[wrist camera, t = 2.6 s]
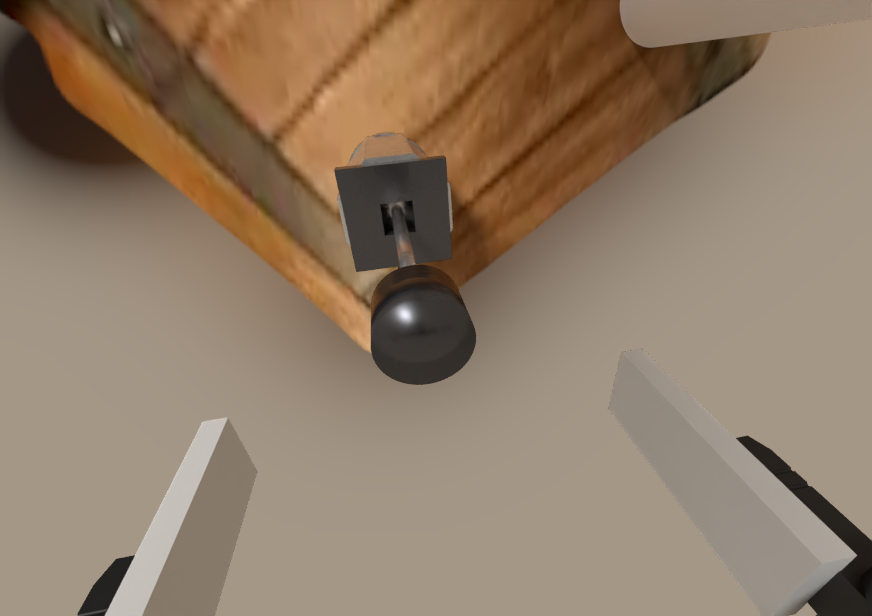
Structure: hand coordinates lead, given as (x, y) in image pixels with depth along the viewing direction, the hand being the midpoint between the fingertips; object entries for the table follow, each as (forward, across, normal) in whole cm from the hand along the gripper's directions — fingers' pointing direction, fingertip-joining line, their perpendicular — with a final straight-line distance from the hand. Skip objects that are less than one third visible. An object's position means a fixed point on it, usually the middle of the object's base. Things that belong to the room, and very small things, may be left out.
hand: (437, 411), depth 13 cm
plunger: (+23, 0, 0) cm, 23 cm away
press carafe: (+36, 0, -1) cm, 36 cm away
